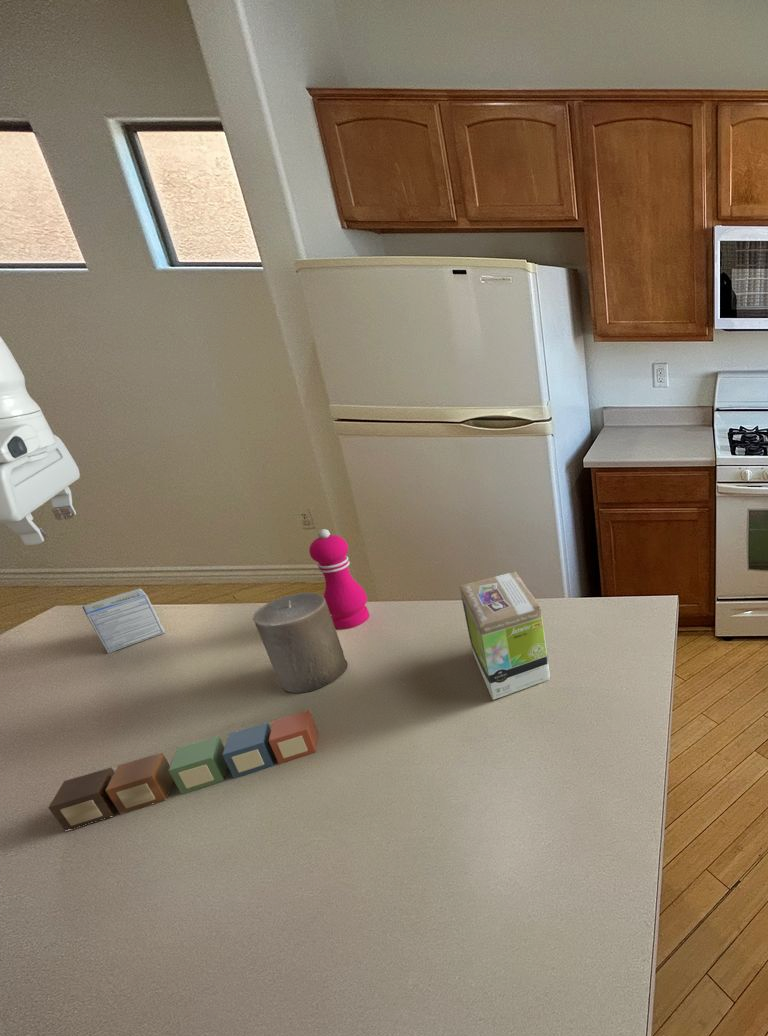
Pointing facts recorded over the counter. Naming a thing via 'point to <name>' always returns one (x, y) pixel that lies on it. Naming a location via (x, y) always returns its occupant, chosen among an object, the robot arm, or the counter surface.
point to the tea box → (505, 633)
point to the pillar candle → (301, 641)
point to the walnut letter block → (83, 800)
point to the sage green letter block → (198, 765)
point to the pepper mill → (339, 581)
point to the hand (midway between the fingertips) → (53, 529)
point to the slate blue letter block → (249, 750)
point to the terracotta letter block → (293, 736)
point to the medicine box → (123, 619)
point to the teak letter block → (140, 783)
